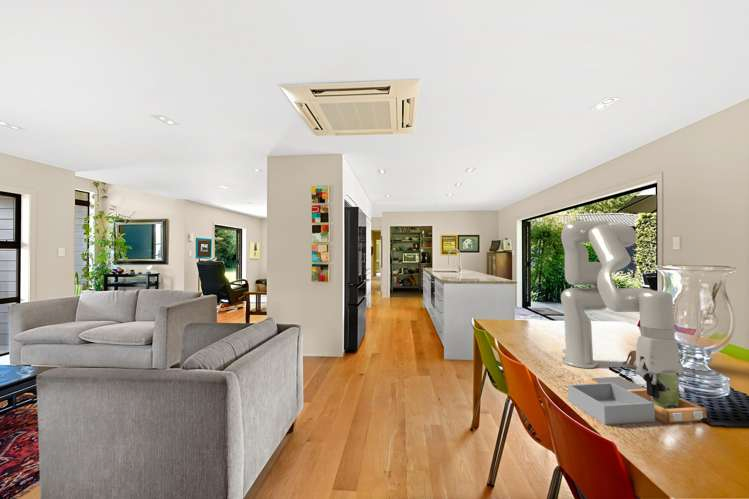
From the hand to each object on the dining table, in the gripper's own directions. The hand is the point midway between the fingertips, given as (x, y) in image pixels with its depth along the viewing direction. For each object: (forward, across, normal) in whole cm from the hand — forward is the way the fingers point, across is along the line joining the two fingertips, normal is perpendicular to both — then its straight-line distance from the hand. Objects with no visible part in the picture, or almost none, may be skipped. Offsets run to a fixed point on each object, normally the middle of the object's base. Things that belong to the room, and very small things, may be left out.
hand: (660, 395), depth 92 cm
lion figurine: (+4, -25, -30) cm, 39 cm away
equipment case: (+4, 0, -7) cm, 8 cm away
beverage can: (+4, -1, 0) cm, 5 cm away
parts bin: (+4, +15, -1) cm, 16 cm away
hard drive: (+5, -15, -16) cm, 23 cm away
